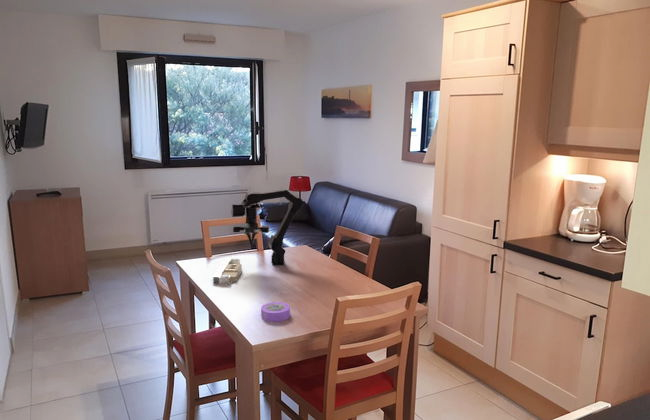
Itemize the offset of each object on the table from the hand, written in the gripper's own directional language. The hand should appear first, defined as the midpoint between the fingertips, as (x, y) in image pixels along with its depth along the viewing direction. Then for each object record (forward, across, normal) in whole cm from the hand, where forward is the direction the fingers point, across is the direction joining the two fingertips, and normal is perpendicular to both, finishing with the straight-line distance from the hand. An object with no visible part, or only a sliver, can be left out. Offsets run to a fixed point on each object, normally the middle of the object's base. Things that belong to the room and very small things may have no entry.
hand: (251, 244), depth 258 cm
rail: (+12, -11, -15) cm, 22 cm away
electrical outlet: (+13, -8, -17) cm, 23 cm away
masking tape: (+12, +19, -66) cm, 70 cm away
